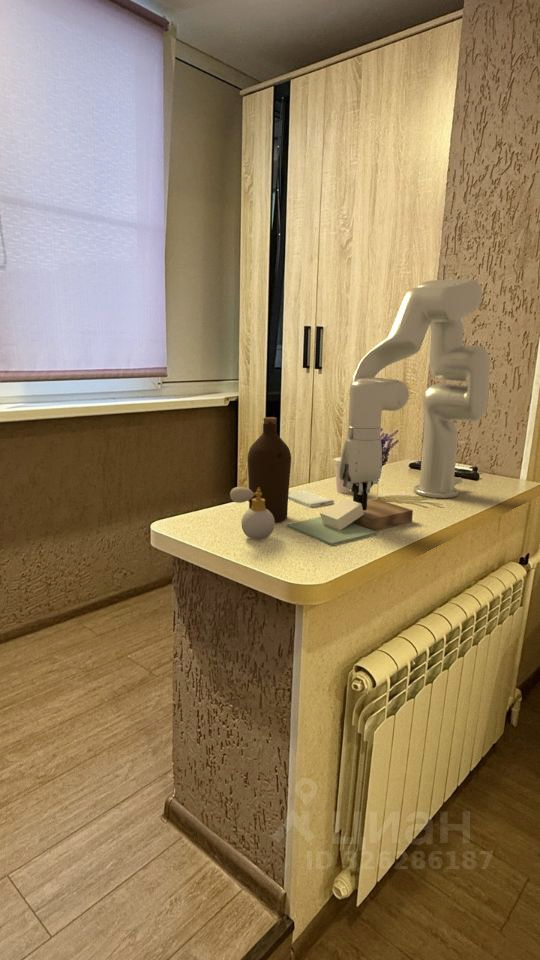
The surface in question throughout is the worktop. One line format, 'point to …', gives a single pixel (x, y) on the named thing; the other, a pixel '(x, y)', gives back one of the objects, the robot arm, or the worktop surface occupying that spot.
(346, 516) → the cream rectangular block
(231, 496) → the perfume bottle
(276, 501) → the olive oil
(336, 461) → the smoothie
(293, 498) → the hard drive
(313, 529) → the mat
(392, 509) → the wooden block
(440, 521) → the worktop surface
